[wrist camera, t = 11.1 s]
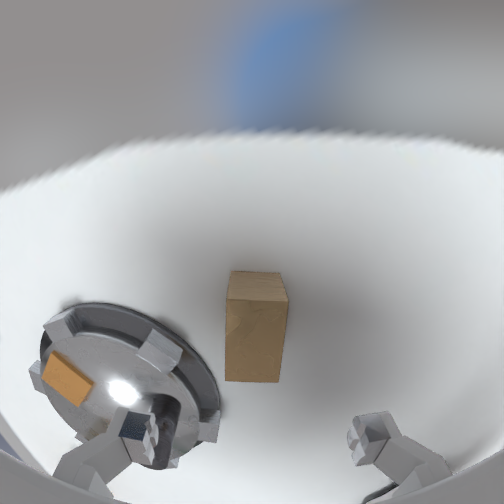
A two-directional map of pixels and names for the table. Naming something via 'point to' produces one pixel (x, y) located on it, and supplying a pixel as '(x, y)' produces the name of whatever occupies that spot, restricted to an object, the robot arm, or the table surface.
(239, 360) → the wooden block
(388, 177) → the table surface
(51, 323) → the sprocket
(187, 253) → the table surface
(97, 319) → the sprocket base
